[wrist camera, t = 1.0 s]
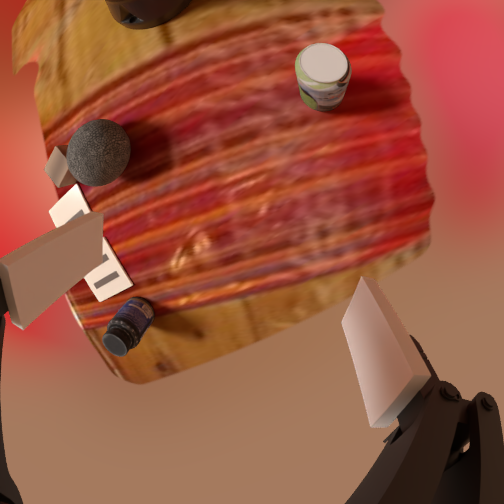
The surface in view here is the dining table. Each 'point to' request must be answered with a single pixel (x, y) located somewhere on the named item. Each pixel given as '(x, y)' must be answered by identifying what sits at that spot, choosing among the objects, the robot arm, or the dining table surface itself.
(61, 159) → the walnut block
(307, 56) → the beverage can
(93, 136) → the decorative ball
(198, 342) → the dining table surface
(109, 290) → the coaster
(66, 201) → the coaster
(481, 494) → the robot arm
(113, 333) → the pill bottle
